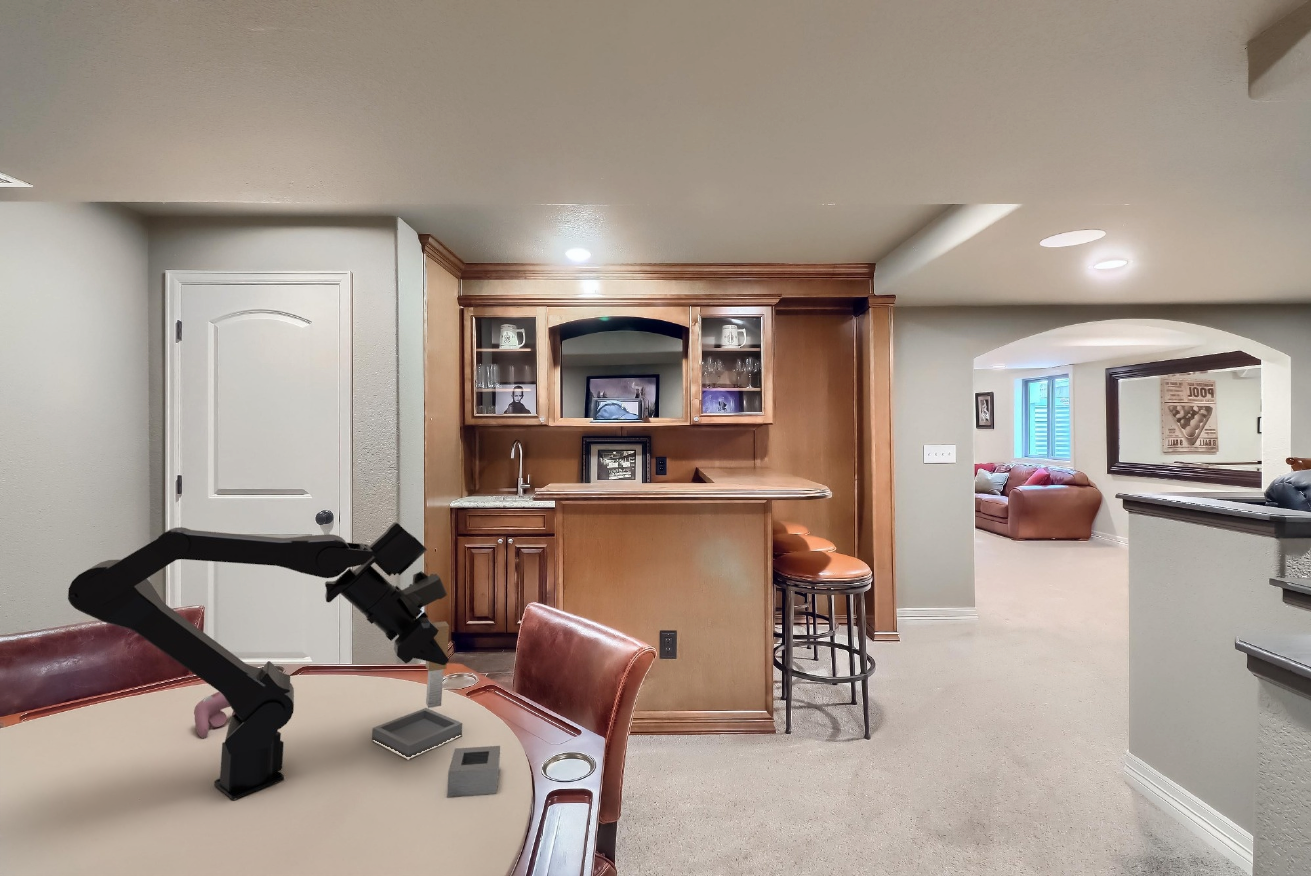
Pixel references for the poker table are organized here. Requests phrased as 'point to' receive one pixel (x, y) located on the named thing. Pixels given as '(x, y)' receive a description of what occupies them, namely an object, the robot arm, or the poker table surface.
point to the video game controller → (210, 713)
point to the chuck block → (474, 771)
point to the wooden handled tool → (437, 668)
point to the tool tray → (417, 732)
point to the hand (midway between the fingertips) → (444, 659)
